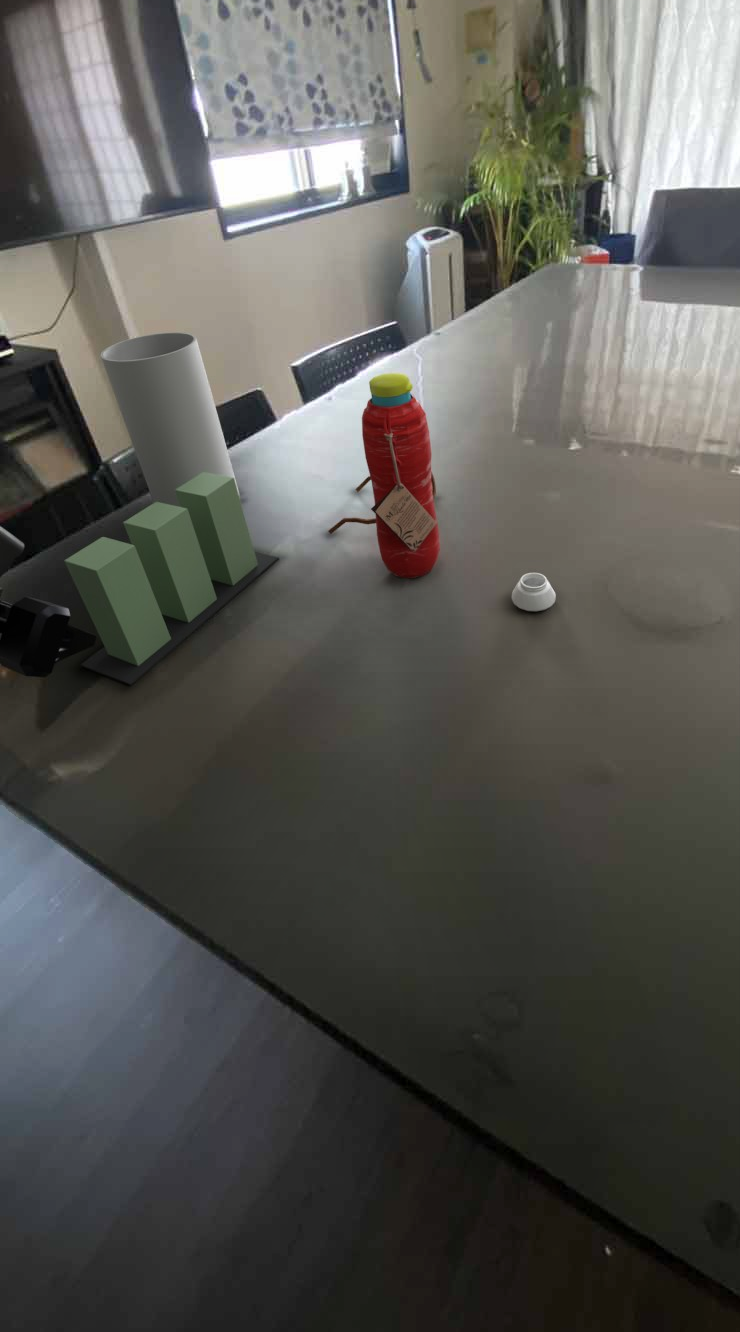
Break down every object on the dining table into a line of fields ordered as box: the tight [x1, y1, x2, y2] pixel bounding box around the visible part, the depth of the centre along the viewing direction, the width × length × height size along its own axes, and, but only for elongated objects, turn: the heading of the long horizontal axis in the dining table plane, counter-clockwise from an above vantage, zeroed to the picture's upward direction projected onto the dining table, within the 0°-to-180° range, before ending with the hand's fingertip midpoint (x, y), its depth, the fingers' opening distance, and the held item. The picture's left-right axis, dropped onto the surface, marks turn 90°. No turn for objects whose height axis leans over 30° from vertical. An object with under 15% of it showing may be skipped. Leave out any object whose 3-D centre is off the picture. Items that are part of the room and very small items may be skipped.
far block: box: [175, 472, 258, 585], centre depth 86 cm, size 5×5×13 cm
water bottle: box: [361, 372, 441, 579], centre depth 79 cm, size 12×8×25 cm, turn 176°
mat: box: [80, 551, 280, 687], centre depth 84 cm, size 26×8×1 cm, turn 153°
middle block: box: [123, 502, 217, 623], centre depth 81 cm, size 5×5×13 cm
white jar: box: [511, 572, 557, 612], centre depth 79 cm, size 5×3×5 cm
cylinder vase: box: [100, 331, 240, 507], centre depth 99 cm, size 12×12×25 cm
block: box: [63, 536, 171, 666], centre depth 75 cm, size 5×5×13 cm
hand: (63, 629), depth 69 cm, fingers open, 9 cm apart
